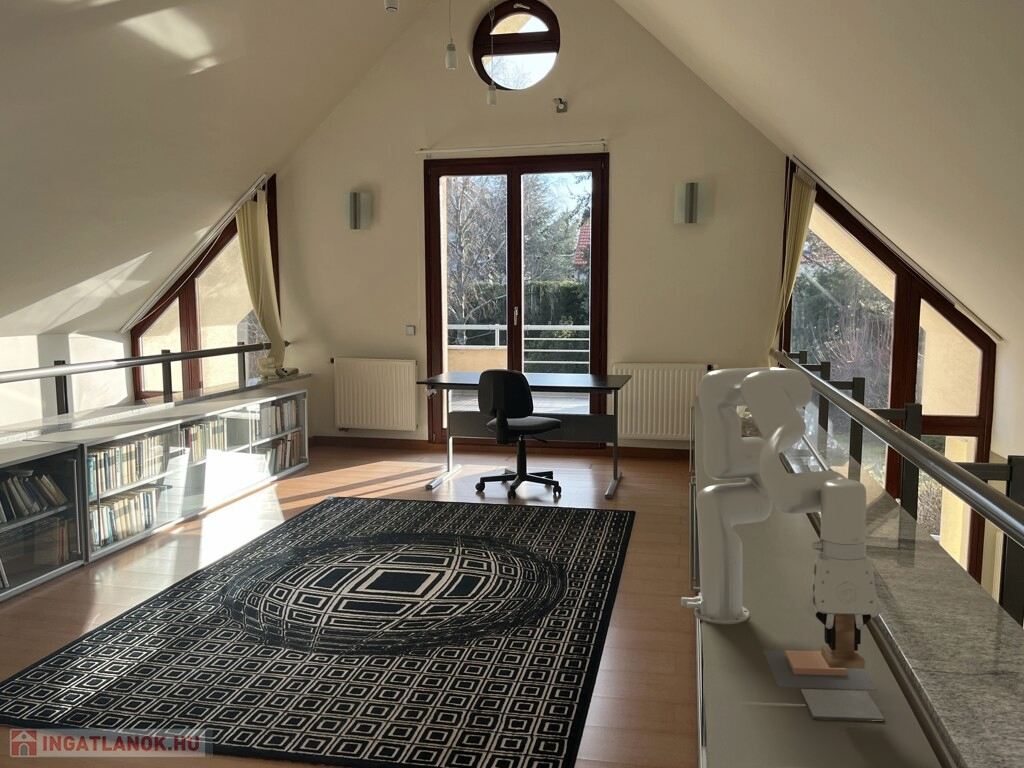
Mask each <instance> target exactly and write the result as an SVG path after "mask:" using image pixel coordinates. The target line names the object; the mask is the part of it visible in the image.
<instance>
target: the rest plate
mask: <svg viewBox="0 0 1024 768" xmlns="http://www.w3.org/2000/svg"><path fill="white" fill-rule="evenodd" d="M800 691H801V694H802V696H803V698H804V700H805V705H806V706H807V708H808V711H809V713H810V716H811V717H812V719H813V720H821V721H822V720H823V721H825V720H826V721H847V722H849V721H852V722H856V721H857V722H873V721H872V720H884V721H885V718H884V716H883V714H882V713H881V711H880V709H879V708H878V706H877V705H876V703H875V701H874V700H873V698H872V697H871V696H870V694H869V692H868V690H849V689H817V688H800ZM859 720H860V721H859ZM864 720H865V721H864ZM867 720H868V721H867ZM870 720H871V721H870Z"/></svg>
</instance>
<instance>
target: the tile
mask: <svg viewBox="0 0 1024 768" xmlns="http://www.w3.org/2000/svg"><path fill="white" fill-rule="evenodd" d="M784 651H785V657H786V659H787V661H788V663H789V665H790V667H791V669H792V672H793V674H803V675H837V676H845V675H846V668H829V666H828V664H827V663H826V661H825V659H824V658H823V656H822V654H821V650H819V651H818V650H784Z"/></svg>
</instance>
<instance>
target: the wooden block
mask: <svg viewBox="0 0 1024 768" xmlns="http://www.w3.org/2000/svg"><path fill="white" fill-rule="evenodd" d="M833 624H834V629H835V650H831V649H830V647H829V645H821V646H820V651H821V654H822V656H823V658H824V659H825V661H826V663H827V664H828V666H829V668H859V669H863V670H864V669H865V668H866V663H865V662H866V661H865V659H864V657H863V656H862V655H861V653H860V652H859V650H858V651H854V615H852V614H834V621H833Z"/></svg>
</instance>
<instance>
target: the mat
mask: <svg viewBox="0 0 1024 768" xmlns="http://www.w3.org/2000/svg"><path fill="white" fill-rule="evenodd" d="M762 652H763V654H764V657H765V659H766V661H767V665H768V666H769V669H770V672H771V674H772V676H773V679H774V681H775V683H776V686H777V687H778V688H795V689H797V688H798V689H799V688H800V689H822V690H854V691H877V689H876V688H875V686H874V685H873V682H872V681H871V680H870V679H869V676H868V675H867V674H866V672H865V671H864V669H859V668H846V675H845V676H837V675H803V674H793V672H792V669H791V667H790V665H789V663H788V661H787V659H786V657H785V650H763V651H762Z"/></svg>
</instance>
